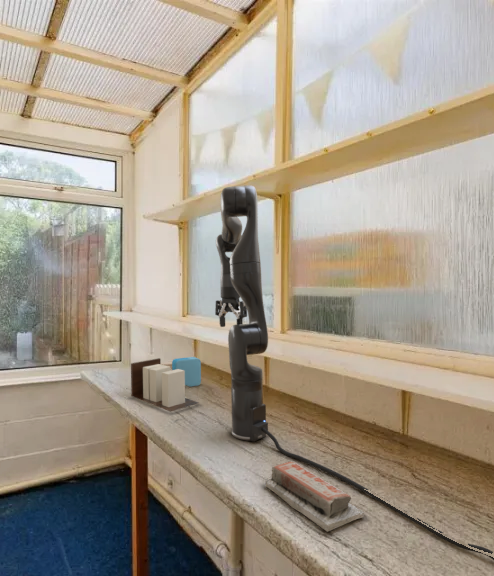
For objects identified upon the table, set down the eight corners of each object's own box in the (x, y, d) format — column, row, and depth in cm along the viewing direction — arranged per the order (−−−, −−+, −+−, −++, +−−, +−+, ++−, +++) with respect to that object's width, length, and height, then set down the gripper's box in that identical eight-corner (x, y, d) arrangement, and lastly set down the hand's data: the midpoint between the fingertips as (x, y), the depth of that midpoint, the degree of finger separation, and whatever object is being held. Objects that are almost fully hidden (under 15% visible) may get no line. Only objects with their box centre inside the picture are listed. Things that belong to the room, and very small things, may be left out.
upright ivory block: (185, 402, 143) (184, 370, 142) (168, 407, 137) (167, 374, 137) (178, 400, 145) (178, 368, 145) (162, 405, 140) (161, 372, 140)
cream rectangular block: (171, 397, 149) (170, 366, 149) (156, 402, 143) (155, 370, 143) (165, 395, 152) (164, 365, 151) (149, 400, 146) (149, 368, 146)
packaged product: (263, 465, 86) (297, 456, 90) (263, 487, 86) (297, 476, 90) (327, 507, 70) (364, 493, 74) (327, 534, 70) (364, 518, 74)
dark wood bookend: (199, 405, 142) (199, 367, 142) (170, 414, 133) (170, 374, 133) (158, 391, 161) (158, 357, 161) (130, 398, 152) (130, 363, 152)
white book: (165, 395, 152) (164, 365, 151) (148, 399, 146) (148, 368, 146) (159, 393, 154) (158, 363, 154) (143, 397, 149) (142, 367, 149)
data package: (196, 382, 173) (196, 356, 173) (201, 385, 169) (200, 358, 169) (172, 386, 168) (171, 358, 168) (176, 388, 164) (175, 360, 164)
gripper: (210, 286, 151) (211, 327, 151) (237, 285, 140) (238, 330, 140) (223, 285, 156) (224, 325, 156) (251, 285, 145) (251, 328, 145)
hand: (230, 327), depth 148 cm, fingers open, 8 cm apart
